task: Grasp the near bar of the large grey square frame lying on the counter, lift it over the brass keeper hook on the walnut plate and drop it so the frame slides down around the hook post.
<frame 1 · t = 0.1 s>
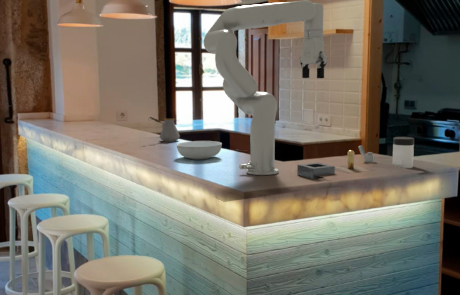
hand: (312, 78, 223), 37 cm above the countertop, tool pointing down, fingers open, 9 cm apart
coffee pot: (163, 142, 313), on the countertop
lighter: (366, 164, 234), on the countertop
grey square frame: (315, 175, 210), on the countertop
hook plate: (350, 171, 217), on the countertop
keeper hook: (350, 168, 217), resting on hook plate
serving bowl: (199, 158, 254), on the countertop
jar: (402, 167, 228), on the countertop
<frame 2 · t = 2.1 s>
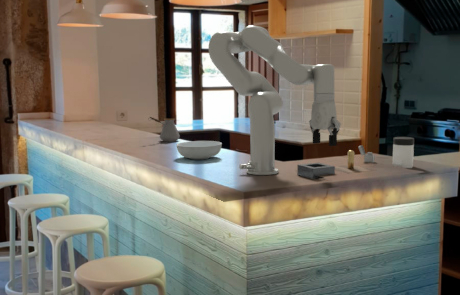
hand: (324, 144, 204), 13 cm above the countertop, tool pointing down, fingers open, 9 cm apart
nothing on the countertop moved.
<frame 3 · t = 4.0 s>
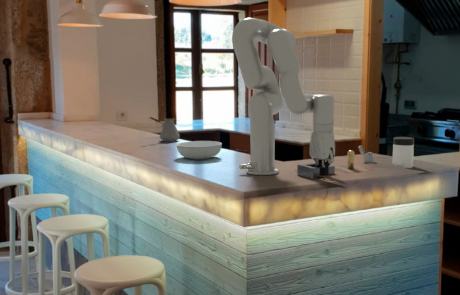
hand: (322, 176, 206), 0 cm above the countertop, tool pointing down, fingers closed on grey square frame, 2 cm apart
grey square frame: (315, 175, 210), on the countertop, touching gripper
everything else where it was.
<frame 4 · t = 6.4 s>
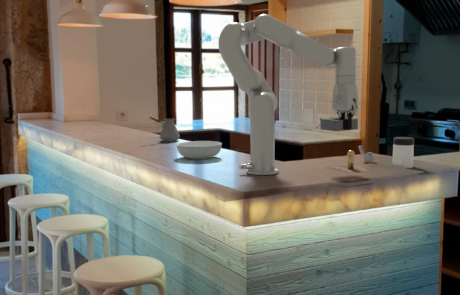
hand: (345, 129, 208), 18 cm above the countertop, tool pointing down, fingers closed on grey square frame
grey square frame: (338, 129, 212), point 17 cm above the countertop, touching gripper
everything else where it was.
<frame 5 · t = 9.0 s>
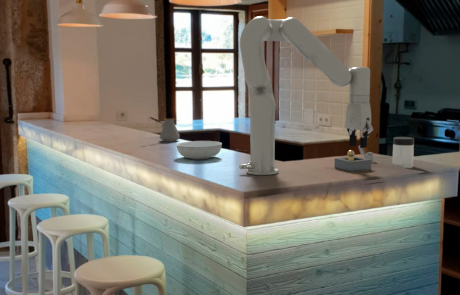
hand: (358, 146, 212), 11 cm above the countertop, tool pointing down, fingers open, 5 cm apart
grey square frame: (352, 169, 216), point 1 cm above the countertop, touching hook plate
everything else where it was.
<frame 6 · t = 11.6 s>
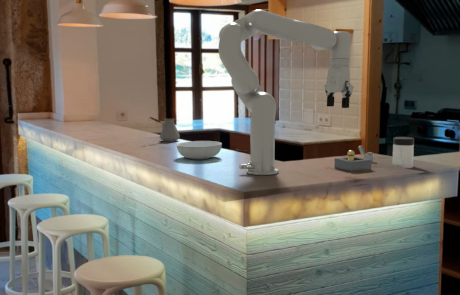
hand: (337, 107, 218), 25 cm above the countertop, tool pointing down, fingers open, 9 cm apart
nothing on the countertop moved.
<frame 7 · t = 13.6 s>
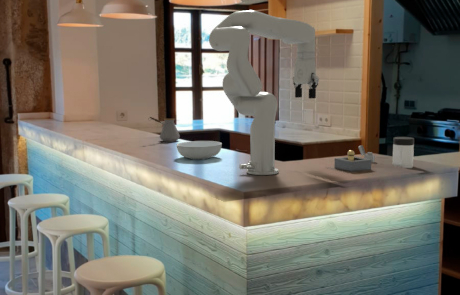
hand: (305, 97, 232), 28 cm above the countertop, tool pointing down, fingers open, 9 cm apart
nothing on the countertop moved.
at the end: grey square frame 1.1 cm from the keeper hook (horizontally); grey square frame point 1.2 cm above the countertop; the gripper is holding nothing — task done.
